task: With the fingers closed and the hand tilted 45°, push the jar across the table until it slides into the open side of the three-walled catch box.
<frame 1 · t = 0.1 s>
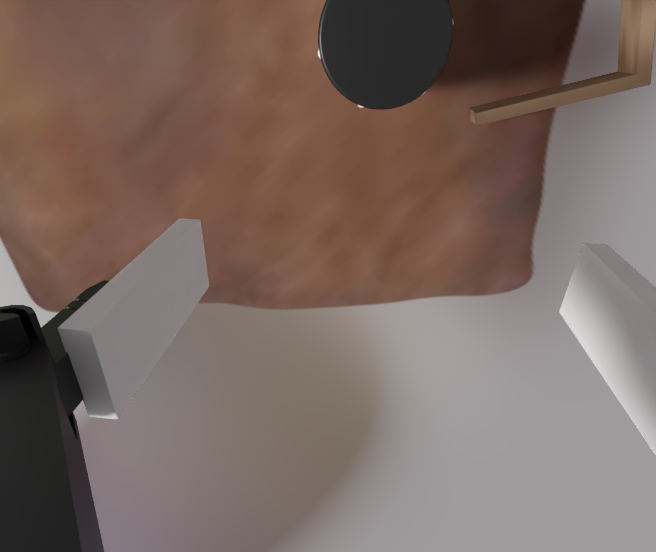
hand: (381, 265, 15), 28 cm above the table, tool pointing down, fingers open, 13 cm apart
jar: (382, 39, 36), on the table
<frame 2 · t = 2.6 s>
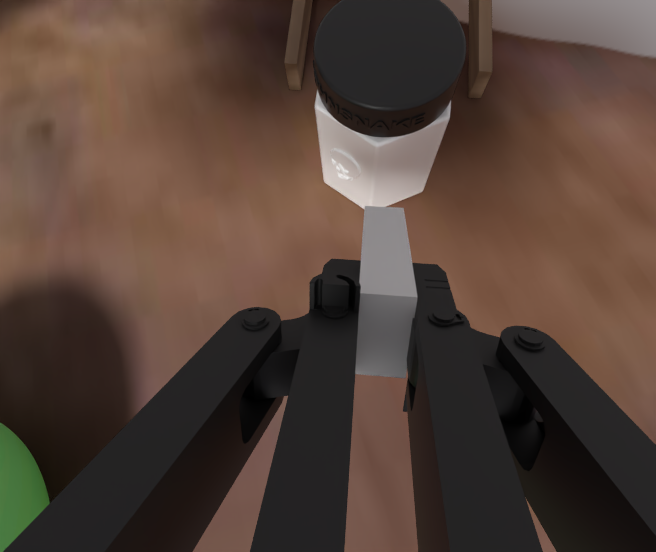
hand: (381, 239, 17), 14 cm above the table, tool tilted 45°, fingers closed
catch box: (387, 35, 37), on the table
jar: (375, 163, 34), on the table
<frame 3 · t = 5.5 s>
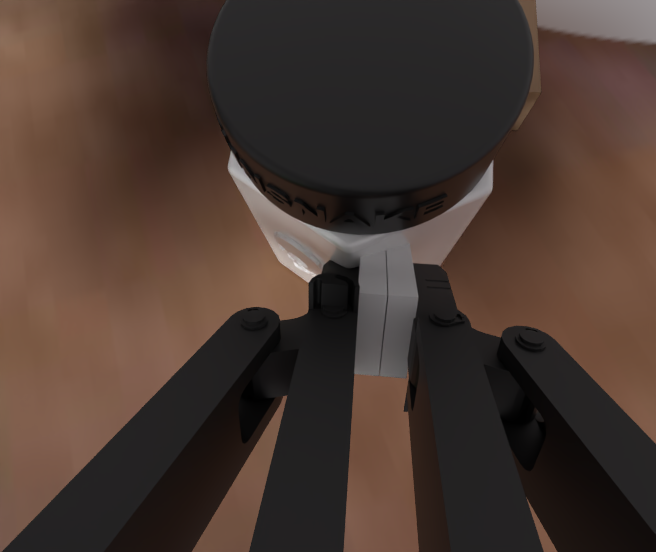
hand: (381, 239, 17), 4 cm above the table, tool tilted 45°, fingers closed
catch box: (374, 37, 25), on the table
jar: (359, 229, 22), on the table, touching gripper
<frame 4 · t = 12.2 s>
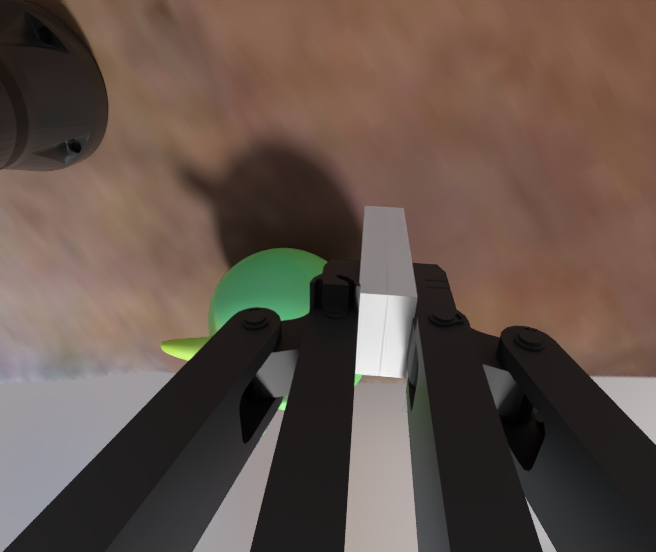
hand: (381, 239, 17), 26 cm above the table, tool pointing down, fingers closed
toy bird: (297, 296, 50), on the table
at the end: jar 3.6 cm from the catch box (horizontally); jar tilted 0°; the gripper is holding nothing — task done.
